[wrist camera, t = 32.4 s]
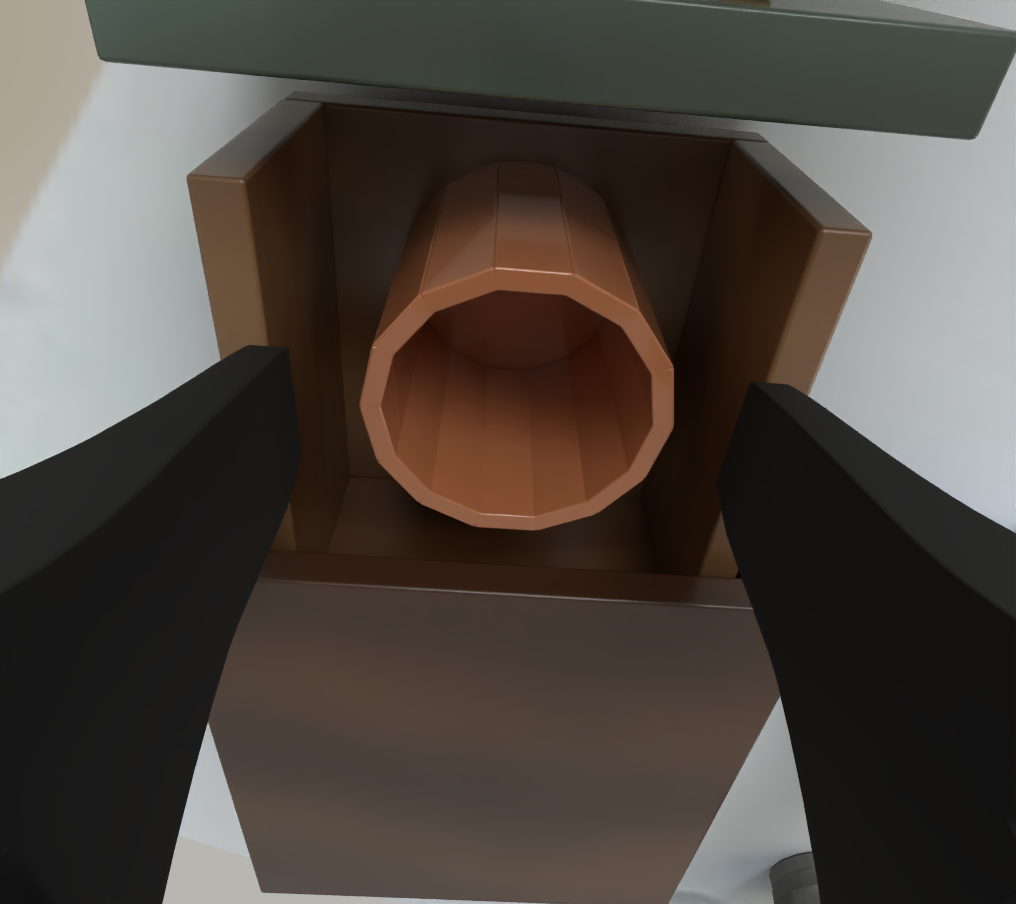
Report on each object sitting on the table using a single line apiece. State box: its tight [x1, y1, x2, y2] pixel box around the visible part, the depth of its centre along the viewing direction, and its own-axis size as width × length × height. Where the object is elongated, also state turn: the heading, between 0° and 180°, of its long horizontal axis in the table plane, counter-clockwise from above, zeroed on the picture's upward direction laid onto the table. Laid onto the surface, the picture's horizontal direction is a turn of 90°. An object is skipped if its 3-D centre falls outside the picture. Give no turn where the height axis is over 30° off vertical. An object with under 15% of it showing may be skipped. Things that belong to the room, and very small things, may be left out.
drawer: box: [85, 0, 1016, 578], centre depth 13 cm, size 17×11×6 cm, turn 175°
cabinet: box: [208, 550, 780, 904], centre depth 20 cm, size 14×12×8 cm
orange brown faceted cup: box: [359, 161, 674, 531], centre depth 13 cm, size 5×5×6 cm
